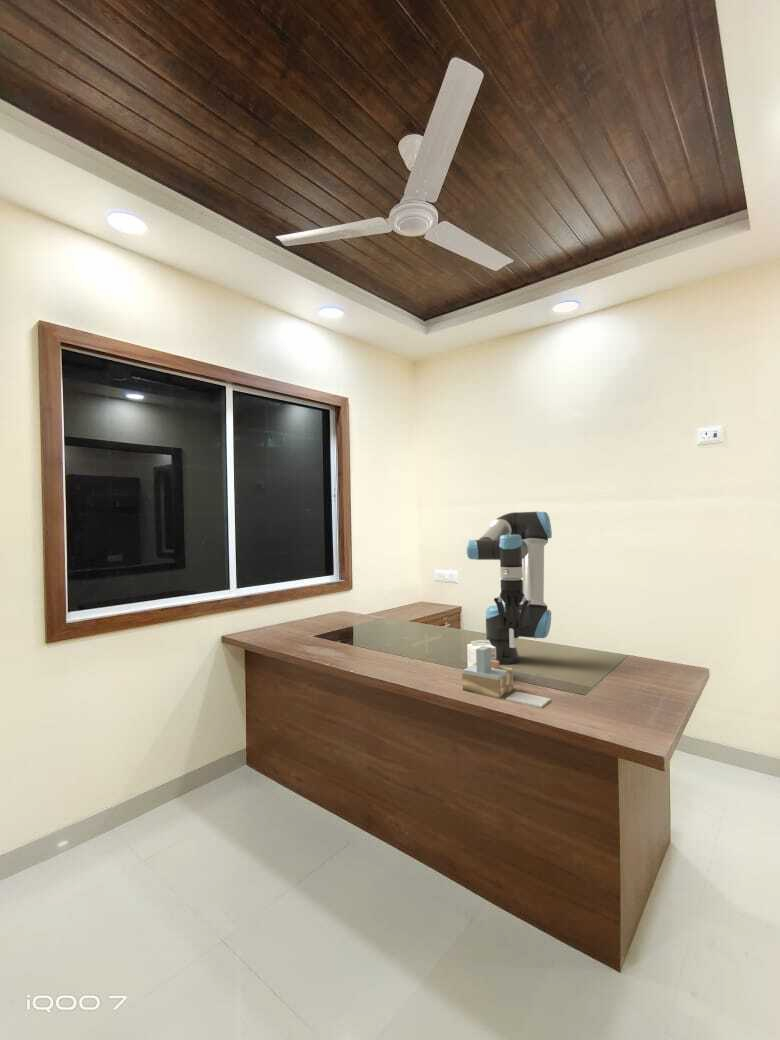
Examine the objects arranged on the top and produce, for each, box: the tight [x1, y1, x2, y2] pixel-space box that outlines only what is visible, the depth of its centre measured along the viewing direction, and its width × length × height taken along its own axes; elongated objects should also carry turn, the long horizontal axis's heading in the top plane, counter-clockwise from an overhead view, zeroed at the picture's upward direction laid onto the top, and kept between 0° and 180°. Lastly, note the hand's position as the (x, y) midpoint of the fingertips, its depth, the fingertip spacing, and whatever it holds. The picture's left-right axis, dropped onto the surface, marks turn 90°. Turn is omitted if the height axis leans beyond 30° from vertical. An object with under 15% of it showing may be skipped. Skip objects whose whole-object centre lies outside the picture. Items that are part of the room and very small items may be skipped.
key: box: [491, 660, 500, 668], centre depth 171 cm, size 2×5×2 cm, turn 51°
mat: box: [505, 690, 551, 709], centre depth 157 cm, size 8×12×1 cm, turn 51°
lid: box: [462, 646, 508, 680], centre depth 168 cm, size 9×13×10 cm
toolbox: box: [461, 663, 514, 699], centre depth 168 cm, size 11×14×7 cm
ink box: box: [466, 639, 496, 668], centre depth 184 cm, size 9×8×13 cm
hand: (513, 646), depth 165 cm, fingers closed
